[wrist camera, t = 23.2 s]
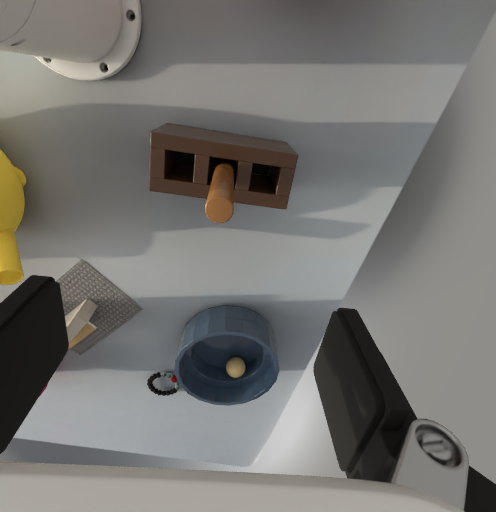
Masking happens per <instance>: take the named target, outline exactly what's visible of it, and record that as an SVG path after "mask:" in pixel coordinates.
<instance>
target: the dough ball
mask: <svg viewBox="0 0 496 512" xmlns="http://www.w3.org/2000/svg"><path fill="white" fill-rule="evenodd" d="M245 368H246V366H245V363H244V361H243V360H242V359H241V358H239V357H233V358H231V359H229V361H228V362H227V364H226V371H227V373H228V374H229V375H230V376H231V377H234V378H237V377H240V376H242V375H243V373H244V372H245Z"/></svg>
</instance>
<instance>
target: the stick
mask: <svg viewBox="0 0 496 512" xmlns="http://www.w3.org/2000/svg"><path fill="white" fill-rule="evenodd" d="M233 204H234V160H231V159H224V158H217V162H216V166H215V170H214V174H213V178H212V182H211V186H210V189H209V193H208V197H207V201H206V205H205V213H206V215H207V217H208V218H209V219H210V220H211V221H213V222H216V223H224V222H226V221H228V220H229V219H230V218H231V217H232V215H233Z"/></svg>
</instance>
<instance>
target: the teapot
mask: <svg viewBox="0 0 496 512" xmlns="http://www.w3.org/2000/svg"><path fill="white" fill-rule="evenodd" d="M25 184H26V177H25V175H24V173H23V172H22V171H21V170H20V169H18V168H17V167H14V166H13V165H12V164H11V162H10V160H9V159H8V158H7V156H6V155H5V154H4V153H3V151H2V150H1V149H0V284H2V285H11V284H15V283H18V282H20V281H21V280H22V279H23V277H24V275H23V271H22V266H21V262H20V257H19V253H18V248H17V244H16V240H15V235H14V232H15V231H16V229H17V228H18V226H19V224H20V222H21V220H22V217H23V213H24V207H25V199H24V192H23V187H24V186H25Z"/></svg>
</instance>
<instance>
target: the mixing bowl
mask: <svg viewBox="0 0 496 512" xmlns="http://www.w3.org/2000/svg"><path fill="white" fill-rule="evenodd" d="M233 357H239V358H241V359H242V360H243V361H244V363H245V366H246V368H245V372H244V373H243V375H242V376H240V377H237V378H234V377H231V376H230V375H229V374H228V373H227V371H226V364H227V362H228V361H229V359H231V358H233ZM278 373H279V364H278V358H277V351H276V345H275V338H274V332H273V330H272V328H271V327H270V325H269V324H268V322H267V321H266V320H265V319H264V318H262V317H261V316H260V315H259V314H257V313H256V312H253V311H250V310H248V309H245V308H242V307H235V306H220V307H214V308H210V309H207V310H205V311H203V312H201V313H198V314H197V315H196V316H194V317H193V318H192V319H191V320H190V321H189V322H188V323H187V324H186V326H185V328H184V330H183V332H182V333H181V338H180V342H179V347H178V351H177V356H176V360H175V375H176V378H177V380H178V383H179V385H180V386H181V387H182V388H183V389H184V390H185V391H186V392H187V393H188V394H190V395H191V396H193V397H195V398H197V399H198V400H201V401H204V402H207V403H211V404H215V405H235V404H243V403H246V402H249V401H252V400H254V399H257V398H259V397H260V396H261V395H263V394H264V393H266V392H267V391H269V389H270V388H271V387H272V386H273V384H274V383H275V382H276V380H277V376H278Z"/></svg>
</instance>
